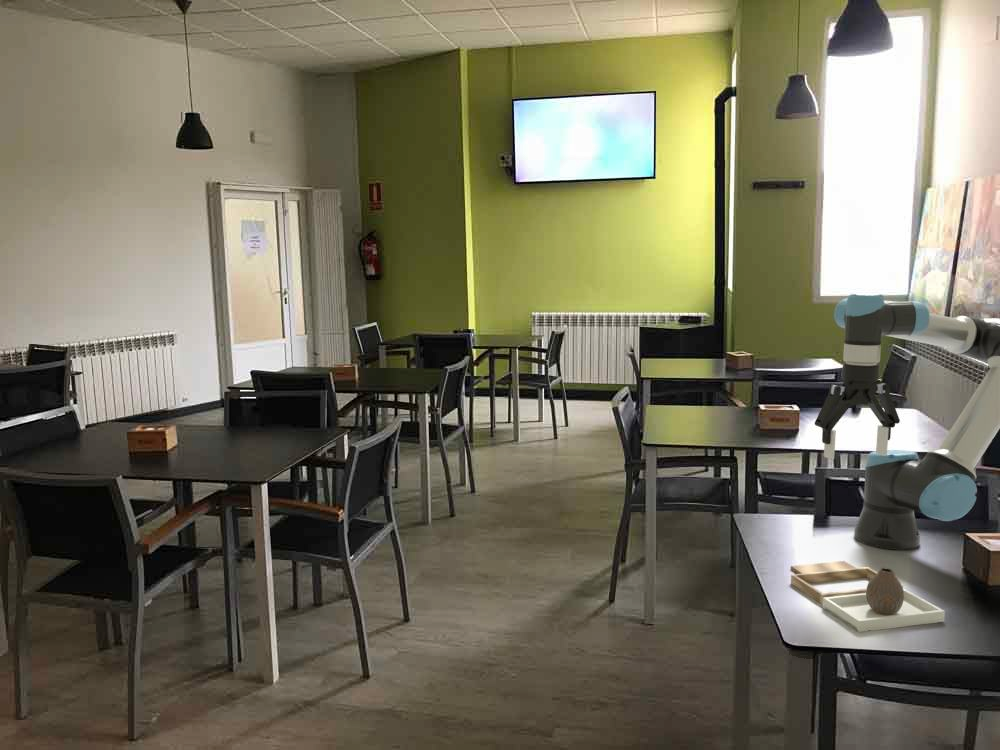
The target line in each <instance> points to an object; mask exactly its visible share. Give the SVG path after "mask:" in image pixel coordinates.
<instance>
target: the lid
mask: <svg viewBox="0 0 1000 750" xmlns="http://www.w3.org/2000/svg"><path fill="white" fill-rule="evenodd" d="M852 568H857V567H856V566H854V565H852V564H850V563H848V562H847V561H846V560H840V561H839V560H838V561H829V562H820V563H809V564H808V563H807V564H800V565H799V564H798V565H791V566H790V570H791V571H792V572H794V573H795V574H803V573H813V572H823V571H833V570H842V569H852Z"/></svg>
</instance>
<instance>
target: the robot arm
mask: <svg viewBox="0 0 1000 750" xmlns="http://www.w3.org/2000/svg"><path fill="white" fill-rule="evenodd" d="M884 298H885V297H884V295H883V294H881V293H875V292H874V293H871V292H869V293H867V292H865V293H864V292H863V293H861V292H859V293H857V292H855V293H850V295H848V296H847V297H846V298H843V299H842V300H840V301H839V302H838V303H837V304H836V306H835V307H834V312H833V319H834V322H835V323H836V324H837V326H838V327H840V328H842V329H844V340H843V341H844V342H843V354H842V355H843V358H842V359H843V361H844V363H843V364H842V370H841V371H842V372H841V378H842V381H843V382H842V385H835V384H831V385H829V389H828V393H827V394H828V395H826V396H827V397H826V399H825V401H824V403H823V405H822V407H821V409H820V410H819V413H818V415H817V417H816V419H815V421H814V425H815V426H816V427H819V428H821V429H822V434H821V436H822V438H821V443H823V445H824V446H823V447H824V448H823V457H824V458H826V459H829V460H835V449H836V437H837V436H836V431H837V430H835V429H834V427H835V426H836V425H837V424H838V422H840V419H842V417H843V416H844V415H845V414H846V413H847V411H848V410H849V408H852V407H853V406H859V405H867V406H868V407H869V409H870V410H871V411H872V412H873V415H874V416H875V417H876V419H877V420H878V421H879V423H880V424H879V425H877V433H876V449H875V450H874V451H872V452H869V453H868V455H866V456H867V457H866V463H865V467H864V471H865V472H864V486H863V487H864V492H863V493H864V494H863V505H862V506H863V507H862V510H861V513H860V514H859V517H858V520H857V523H856V524H855V526H854V533H853V536H854V538H855V539H856V540H857V541H858V542H860V543H862V544H865V545H868V546H872V547H875V548H879V549H880V548H881V549H886V550H897V551H898V550H904V551H905V550H913V549H915V548H918V547H920V545H921V544H920V542H921V535H920V534H921V533H920V532H919V528H918V524H917V521H916V516H915V512H916V513H919V514H922V515H924V516H926V517H927V518H930V519H935V520H936V519H937V520H939V521H944V522H951V521H955V520H959V519H961V518H963V517H964V516H965V515H967V514H968V513H969V512H970V510H971V509H972V508H973V507H974V505H975V503H976V501H977V496H976V494H977V493H978V488H977V485H976V482H975V481H976V480H977V475H976V472H975V467H976V466H977V465H978V463H979V461H980V460H981V458H982V457H983V455H984V454H985V452H986V450H987V449H988V448H989V446H990V444H991V443H992V441H993V439H994V438H995V437H996V435H997V433H998V432H999V430H1000V317H971V316H966V315H958V316H955V317H952V316H951V317H950V316H946V315H942V314H941V315H940V314H935V313H933V312H932V313H930V311H929V308H928V307H927V306H926V305H925V304H924V303H923V302H921V301H912V300H907V301H895V300H885V299H884ZM883 336H885V337H892V338H896V339H902V340H907V341H912V342H915V343H922V344H927V345H932V346H937V347H942V348H945V349H946V350H947V351H948V352H950V353H952V354H957V355H961V356H964V357H968V358H971V359H973V360H977V361H981V362H983V363H987V364H988V368H989V369H988V370H987V371H988V372H987V373H986V374H985V376H984V378H983V379H982V381H981V382H980V383H979V385H978V387H977V388H976V390H975V391H974V393H973V394H972V395H971V398H970V399H969V400H968V402H967V403H966V405H965V407H964V408H963V410H962V412H961V413H960V415H959V416H958V418H957V419H956V421H955V422H954V423H953V425H952V427H951V428H950V430H949V431H948V433H947V435H946V436H945V438H944V439H943V440H942V442H941V444H940V445H939V447H938V448H937V449H935V450H930V451H927V452H926V454H925V456H924V457H923V459H922V460H921V461H919V459H920V458H919V455H918V452H915V451H911V450H902V449H888V444H889V441H890V440H891V435H892V428H895V426H896V425H897V424H899V423H900V422H901V420H900V417H899V415H898V411H897V409H896V406H895V403H894V402H893V399H892V395H891V393H890V392H891V389H890V384H888V383H884V382H879V378H880V365H879V364H878V363H880V361H881V351H882V350H881V347H882V338H883ZM877 382H878V383H877ZM876 394H877V395H878V398H879V400H880V401H879V400H878V398H877V396H875V395H876ZM880 402H881V404H880Z"/></svg>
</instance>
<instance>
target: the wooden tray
mask: <svg viewBox="0 0 1000 750" xmlns="http://www.w3.org/2000/svg"><path fill="white" fill-rule="evenodd" d="M878 572H879V571H875V570H874V569H872V568H870V567H868V566H864V567H856V568H852V569H842V570H833V571H823V572H813V573H803V574H797V573H795V574H791V575H790V584H791V585H792V586H794V587H796V588H797V589H799V590H800V591H802V592H803V593H805V594H806V595H808V596H809V597H811V598H812V599H813V600H815V601H816V602H819V604H821V605H823V598H825V597H834V596H843V595H852V594H861V593H866V589H867V588H862V589H861V588H860V589H853V590H852V589H851V590H843V591H835V592H833V591H832V592H826V593H825V592H824V593H823V591H820V590H819V589H818V588H816V587H815V586H813V585H811V584H812V583H820V582H821V583H822V582H830V581H839V580H849V579H859V578H868V579H870V580H871V579H872V578H873V577H874V576H875V575H876V574H877V573H878ZM902 587H903V588H904V585H903V586H902Z"/></svg>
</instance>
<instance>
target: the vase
mask: <svg viewBox="0 0 1000 750" xmlns="http://www.w3.org/2000/svg"><path fill="white" fill-rule="evenodd" d="M877 572H878V573H877V574H876V575H875V576H874V577H873V578H872V579H870V580H869V581H868V582H867V585H866V588H865V589H866V598H867V602H868V604H869V606H870V608H871V609H872V610H873V611H874V612H876V613H878V614H881V615H893V614H895V613H897V612H898V611H899V610H900V609H901V607H902V604H903V601H904V591H903V589H904V586H903V587H902V584H901V581H899V579H898V577H897V576H896V575H895V572H894V570H893V569H892V568H889V567H881V568H880V569H879V570H878V571H877Z"/></svg>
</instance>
